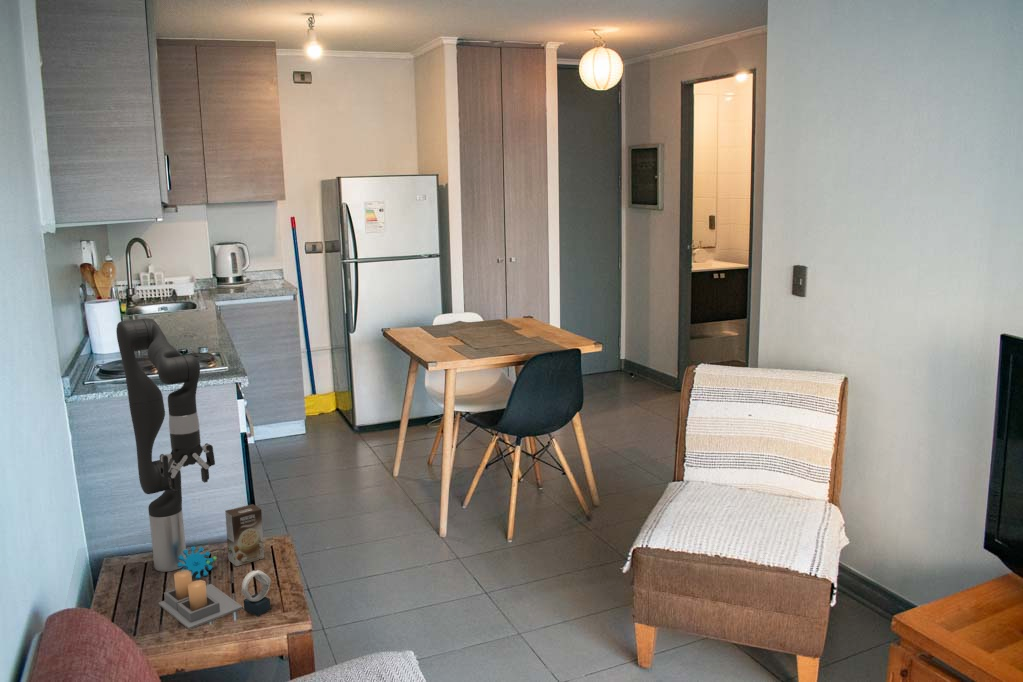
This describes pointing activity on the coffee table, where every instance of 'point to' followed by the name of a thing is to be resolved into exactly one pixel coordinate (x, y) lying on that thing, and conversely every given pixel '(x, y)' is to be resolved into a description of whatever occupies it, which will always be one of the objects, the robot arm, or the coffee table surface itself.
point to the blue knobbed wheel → (196, 562)
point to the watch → (256, 602)
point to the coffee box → (244, 534)
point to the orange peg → (197, 595)
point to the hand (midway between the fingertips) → (189, 485)
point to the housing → (216, 608)
